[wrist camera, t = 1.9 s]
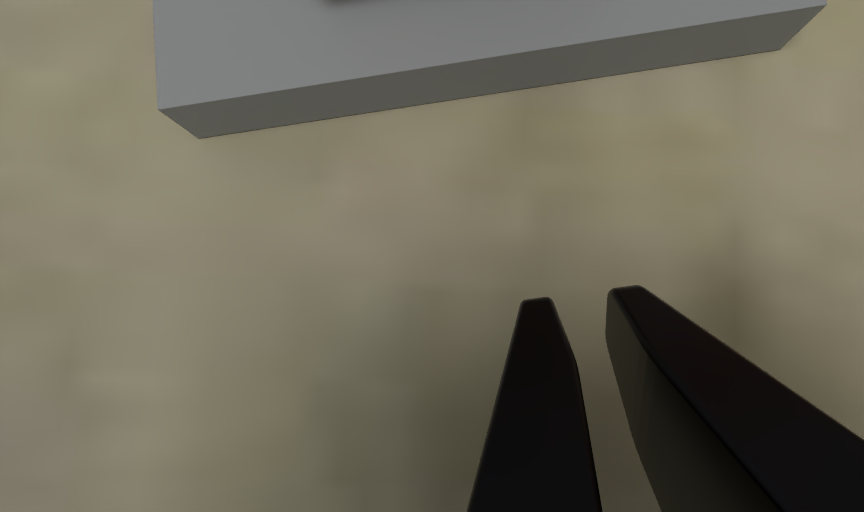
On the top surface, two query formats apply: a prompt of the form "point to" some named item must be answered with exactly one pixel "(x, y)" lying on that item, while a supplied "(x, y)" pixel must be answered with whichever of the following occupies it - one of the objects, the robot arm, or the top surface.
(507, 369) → the robot arm
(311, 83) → the deck
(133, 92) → the top surface
